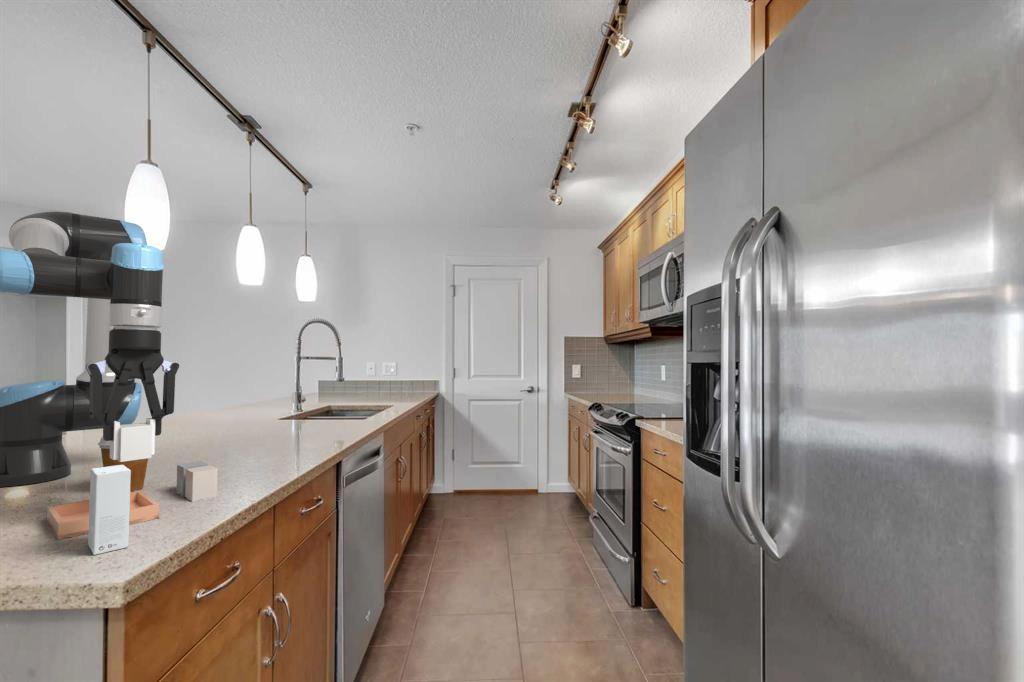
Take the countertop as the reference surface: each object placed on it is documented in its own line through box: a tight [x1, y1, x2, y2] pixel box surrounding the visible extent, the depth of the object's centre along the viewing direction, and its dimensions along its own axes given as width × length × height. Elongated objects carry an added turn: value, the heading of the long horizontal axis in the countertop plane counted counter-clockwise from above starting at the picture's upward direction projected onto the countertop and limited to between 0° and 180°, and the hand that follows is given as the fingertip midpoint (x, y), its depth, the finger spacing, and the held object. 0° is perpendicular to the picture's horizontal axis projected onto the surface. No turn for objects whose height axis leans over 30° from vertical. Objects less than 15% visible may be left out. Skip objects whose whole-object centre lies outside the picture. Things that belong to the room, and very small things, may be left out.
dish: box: [46, 490, 160, 541], centre depth 85 cm, size 13×13×2 cm
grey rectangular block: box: [176, 461, 209, 497], centre depth 103 cm, size 4×4×6 cm
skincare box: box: [87, 465, 131, 556], centre depth 74 cm, size 6×4×12 cm
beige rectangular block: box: [184, 464, 219, 502], centre depth 99 cm, size 4×4×6 cm
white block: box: [117, 422, 153, 462], centre depth 86 cm, size 4×4×6 cm
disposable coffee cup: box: [97, 436, 149, 492], centre depth 104 cm, size 10×10×12 cm
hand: (132, 455), depth 86 cm, fingers closed on white block, 4 cm apart
